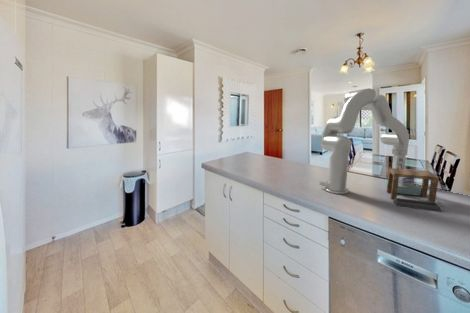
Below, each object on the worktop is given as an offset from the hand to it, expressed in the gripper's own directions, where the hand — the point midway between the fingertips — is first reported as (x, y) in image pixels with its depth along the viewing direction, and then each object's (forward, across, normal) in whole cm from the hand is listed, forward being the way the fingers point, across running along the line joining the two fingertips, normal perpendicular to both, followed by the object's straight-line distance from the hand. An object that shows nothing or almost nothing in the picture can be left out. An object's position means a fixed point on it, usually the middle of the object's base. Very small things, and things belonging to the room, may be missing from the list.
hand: (396, 180), depth 137 cm
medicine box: (+2, -18, 0) cm, 18 cm away
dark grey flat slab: (+2, -41, 0) cm, 41 cm away
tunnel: (+2, -29, 0) cm, 29 cm away
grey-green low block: (+1, -11, 0) cm, 12 cm away
